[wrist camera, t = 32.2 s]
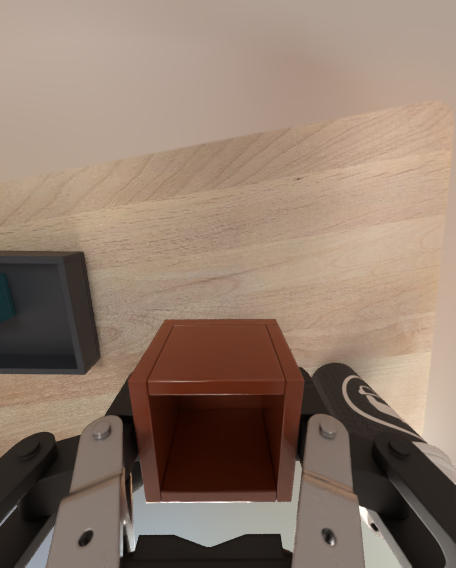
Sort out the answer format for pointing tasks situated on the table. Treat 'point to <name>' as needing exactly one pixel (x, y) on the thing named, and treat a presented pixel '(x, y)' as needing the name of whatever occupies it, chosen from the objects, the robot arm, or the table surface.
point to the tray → (48, 314)
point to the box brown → (217, 412)
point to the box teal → (5, 300)
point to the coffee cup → (369, 417)
